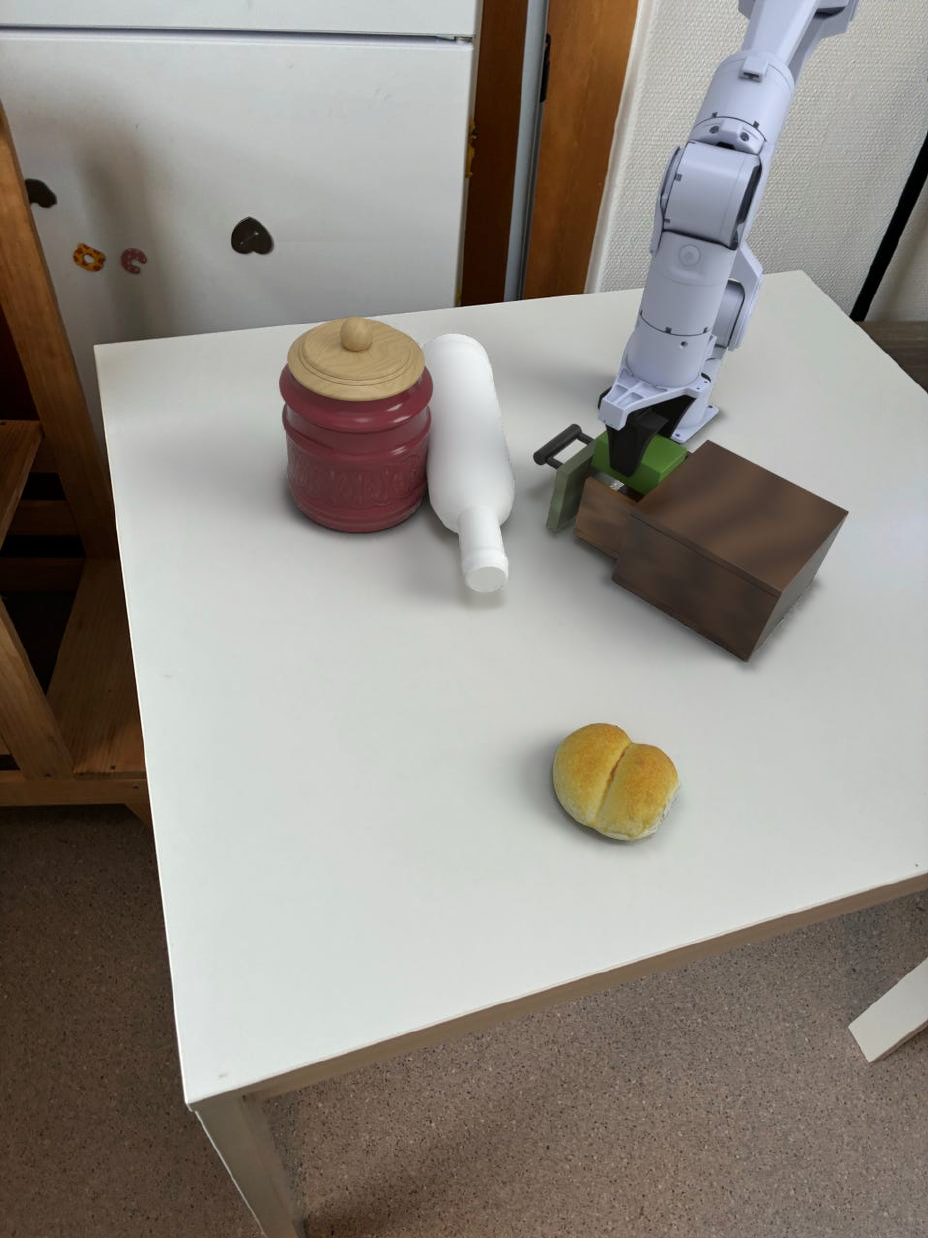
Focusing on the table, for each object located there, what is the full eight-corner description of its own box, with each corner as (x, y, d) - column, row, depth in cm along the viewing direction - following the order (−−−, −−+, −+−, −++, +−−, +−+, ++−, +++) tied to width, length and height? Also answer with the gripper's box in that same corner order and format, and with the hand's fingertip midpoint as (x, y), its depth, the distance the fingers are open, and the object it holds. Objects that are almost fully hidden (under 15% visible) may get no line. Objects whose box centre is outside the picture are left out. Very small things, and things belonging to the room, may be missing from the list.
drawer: (509, 504, 84) (518, 446, 79) (578, 449, 90) (591, 392, 85) (661, 596, 78) (682, 539, 72) (725, 530, 84) (748, 473, 79)
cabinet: (611, 579, 80) (632, 507, 73) (682, 510, 87) (707, 438, 80) (747, 662, 75) (782, 592, 68) (811, 582, 81) (849, 511, 75)
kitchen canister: (318, 552, 79) (307, 380, 66) (269, 463, 86) (250, 293, 73) (450, 514, 84) (465, 346, 70) (393, 433, 91) (397, 267, 78)
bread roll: (580, 721, 69) (590, 690, 66) (686, 780, 67) (701, 750, 64) (526, 798, 65) (534, 768, 62) (638, 865, 62) (652, 838, 59)
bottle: (501, 379, 94) (549, 590, 75) (433, 409, 96) (463, 623, 77) (470, 318, 89) (513, 531, 69) (399, 351, 91) (422, 567, 71)
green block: (590, 465, 79) (596, 438, 77) (617, 443, 82) (625, 415, 79) (652, 500, 77) (661, 473, 75) (679, 476, 79) (688, 448, 77)
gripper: (673, 376, 63) (630, 520, 73) (767, 301, 70) (717, 441, 81) (589, 335, 65) (560, 480, 75) (689, 267, 73) (650, 407, 83)
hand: (636, 457), depth 78 cm, fingers closed on green block, 4 cm apart
